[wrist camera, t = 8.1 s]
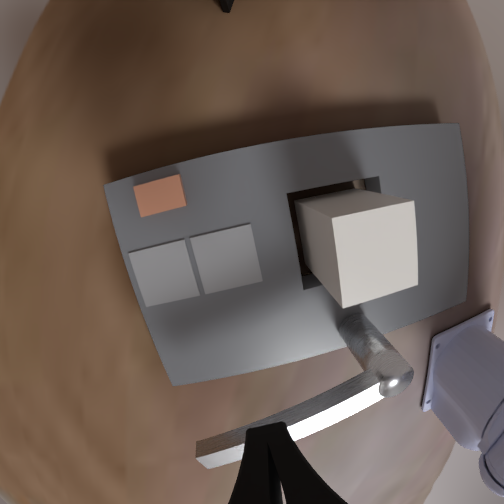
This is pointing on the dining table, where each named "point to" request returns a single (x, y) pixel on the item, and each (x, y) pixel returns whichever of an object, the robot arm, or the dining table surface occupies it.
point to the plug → (359, 243)
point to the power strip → (280, 245)
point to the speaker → (226, 5)
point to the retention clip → (327, 394)
